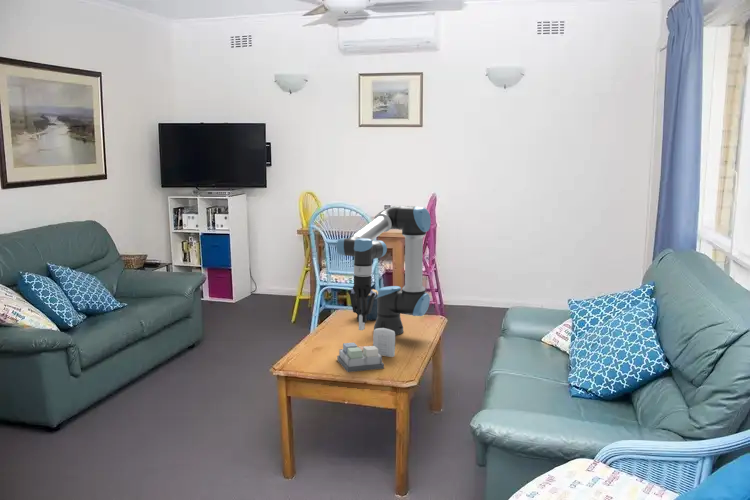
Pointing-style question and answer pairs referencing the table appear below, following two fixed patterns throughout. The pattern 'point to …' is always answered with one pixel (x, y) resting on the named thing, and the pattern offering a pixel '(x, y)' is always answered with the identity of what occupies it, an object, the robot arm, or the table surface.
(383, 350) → the photo printer
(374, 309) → the canister
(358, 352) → the key sage
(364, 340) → the table surface
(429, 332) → the table surface
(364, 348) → the key ivory
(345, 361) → the keypad base
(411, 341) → the table surface
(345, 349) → the key slate
